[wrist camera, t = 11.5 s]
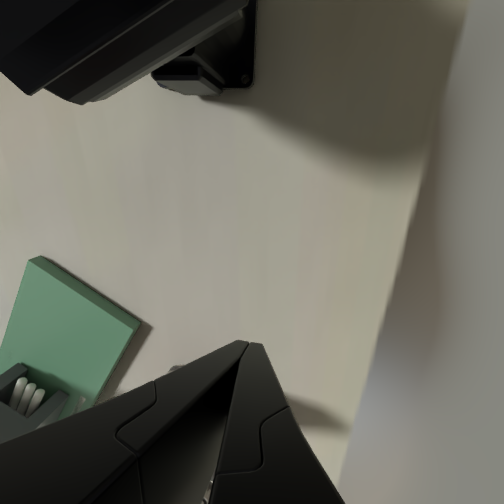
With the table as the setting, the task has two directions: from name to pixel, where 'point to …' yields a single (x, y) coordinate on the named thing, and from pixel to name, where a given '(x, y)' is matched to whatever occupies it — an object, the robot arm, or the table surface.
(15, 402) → the header
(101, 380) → the board
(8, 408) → the plug
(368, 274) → the table surface
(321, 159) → the table surface
